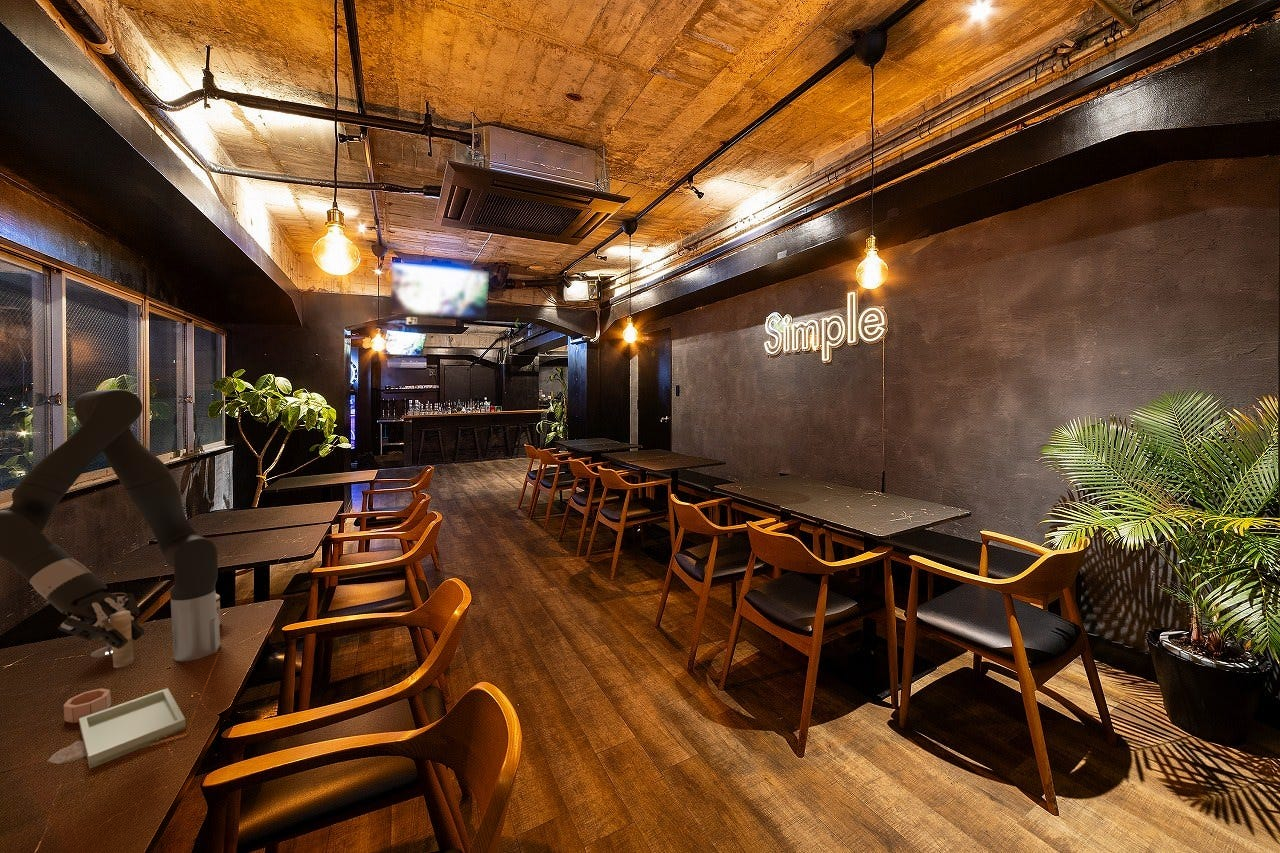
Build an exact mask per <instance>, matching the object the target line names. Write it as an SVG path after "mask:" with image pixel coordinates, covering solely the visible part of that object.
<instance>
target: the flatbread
mask: <svg viewBox="0 0 1280 853" xmlns="http://www.w3.org/2000/svg"><path fill="white" fill-rule="evenodd" d="M84 757H87V755H86V750H85V746H84V742H83V739H80V740H77V741H75V742H73V743H72V744H70V745H68V746H66V747H63V748H61V749H59V750H58V751H56V752H55V753H53V754H52V755H51V757H50V758H49V759H48V760H46V763H51V764H52V763H53V764H57V765H60V764H61V765H62V764H66V763H70V762H73V761H76V760H79V759H81V758H84Z"/></svg>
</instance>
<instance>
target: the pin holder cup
mask: <svg viewBox="0 0 1280 853" xmlns="http://www.w3.org/2000/svg"><path fill="white" fill-rule="evenodd" d="M111 698H112V696H111V690H110V689H107V688H97V689H93V690H92V689H91V690H89V691H84V692H81V693H80V694H78V695H75V696H73V697H71V698H69V699H67V701H66V702H65V703H64V704H63V715H64V716H63V717H64V722H67V723H72V724H73V723H74V724H75V723H79V718H82V717H85V716H88V715H91V714H93V713H96V712H99V711H102V710H105V709H108V708H111V707H112V699H111Z"/></svg>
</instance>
